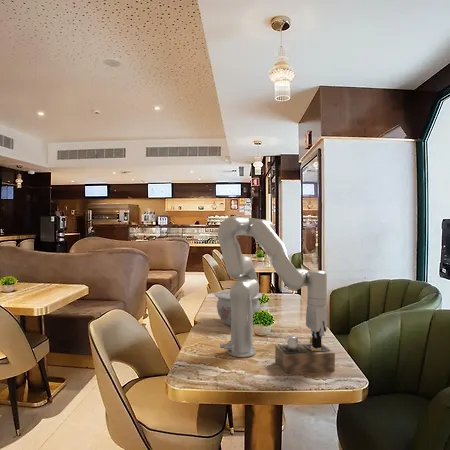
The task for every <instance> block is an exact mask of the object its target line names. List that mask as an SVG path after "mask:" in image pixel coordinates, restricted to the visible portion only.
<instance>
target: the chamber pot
mask: <svg viewBox="0 0 450 450" xmlns="http://www.w3.org/2000/svg"><path fill="white" fill-rule="evenodd" d="M230 289H231V288H228V289H227V288H226V289H221V290H219V291H216V292H214V296H215V297H216V298H217V299H218V300H217V302H216V309H217V315H218V316H219V318H220V320H221V321H222V322H223V323H224V324H225V325H227V326H230V325H231V301H230ZM262 297H263V293H261V292H260V291H259V293H258V294H257V296H255V297H254V298H252V299H251V302H252V309H253V313H255V312H258V311H259V312H260V308H261V304H260V301H259V299H260V298H262Z"/></svg>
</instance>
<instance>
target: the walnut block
mask: <svg viewBox="0 0 450 450" xmlns="http://www.w3.org/2000/svg"><path fill="white" fill-rule="evenodd" d="M311 346H312V343H310V342H306V343H298V352H288V351H287V344H275V348H274V351H275V352H274V355H275V356H274V357H275V358H274V363H275V364H276V365H277V366H278V367H279V369H280V370H281V371H282V372H283V373H284V374H285V375H286V374H288V375H300V374H313V373H324V372H335V371H336V370H335V368H336V367H335V365H336V361H335V360H336V352H335V351H334V350H332V349H330V348H329V347H328V346H326V345H325V344H323V342H321V350H314V351H313V350H311Z"/></svg>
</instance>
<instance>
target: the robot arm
mask: <svg viewBox="0 0 450 450" xmlns="http://www.w3.org/2000/svg"><path fill="white" fill-rule="evenodd" d="M275 228H276V227H275V224H273V222H272V221H270V220H269V219H261V218H253V217H248V216H247V217H246V216H237V215H235V216H229V217H227V218H225V219H224V220H223V221H222V222H221V223H220V225H219V226H218V230H217V240H218V243H219V247H220V249H221V253H222V254H221V255H222V258H223V262H224V265H225V268H226V273H227V274H228V276H229V277H230V278H231V279H232V278H233V279H237V281H235V282H234V283H233V284H232V285H231V287H230V288H229V289H230V301H231V326H230V340H229V341H228V342H226V343H220V344H219V348H220V349H224V350H227V351H226V352H227V354H229V355H230V356H232V357H235V358H249V357H252V356H255V355H256V353H257V349H256V348H255V347H254V346H253V334H254V333H253V332H254V331H253V327H254V326H253V324H254V322H253V309H252V302H251V299H252V298H254V297H255V296H257V294H258V293H259V292H260V284H259V280H258V279H259V278H258V276H257V272H256V268H255V265H254V263H253V261H252V259H251V258H250V257H249V256H247V255H244V254H243V253H242V249H241V245H240V242H239V241H238V238H237V236H249V237H253V238H254V240H255V241H256V242H257V244H258V245H259V247H261V249H262V251H264V253H265V254H266V255H267V257H268V258H269V261H270V263H271V265H272V267H273V269H274V271H275V273H276V274H277V276H278V277H279V278H280V280H281V281H282V282H283V284H284V285H285V286H287V287H288V289H290V290H295V291H297V290H299V289H301V288H303V287H306V289H307V290H306V291H307V292H306V295H307V296H306V298H307V299H306V301H307V302H306V303H307V304H306V315H305V325H306V327H307V328H308V329H309V330H310V331H311V337H312V346H313V347H314V348H321V343H322V338H323V337H325V333H326V332H327V330H328V329H327V328H328V320H327V319H328V318H327V316H328V315H327V306H328V305H327V304H328V303H327V298H328V297H327V286H328V285H327V279H328V278H327V277H328V276H327V272H326V271H324V270H317V269H315V270H314V269H313V270H310V269H304V268H297V267H295V265H294V264H293V263H292V261H291V260H290V258H289V257H288V252H287V247H286V245H285V243H284V242H283V240H282V239H281V238H280V237H279V236H278V234H277V233H276V232H275V231H276V229H275Z"/></svg>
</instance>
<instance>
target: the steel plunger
mask: <svg viewBox="0 0 450 450" xmlns="http://www.w3.org/2000/svg"><path fill="white" fill-rule="evenodd" d="M298 344H299V338H298V336H297V335H293V334H292V335H288V336H287V344H286V345H287V351H288V352H298Z"/></svg>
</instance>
